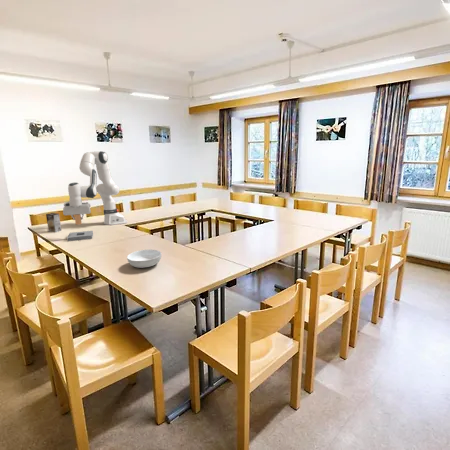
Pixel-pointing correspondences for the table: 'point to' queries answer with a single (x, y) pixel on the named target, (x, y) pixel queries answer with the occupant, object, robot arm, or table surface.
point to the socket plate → (80, 235)
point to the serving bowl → (144, 258)
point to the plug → (78, 219)
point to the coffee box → (53, 222)
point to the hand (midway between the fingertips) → (78, 219)
